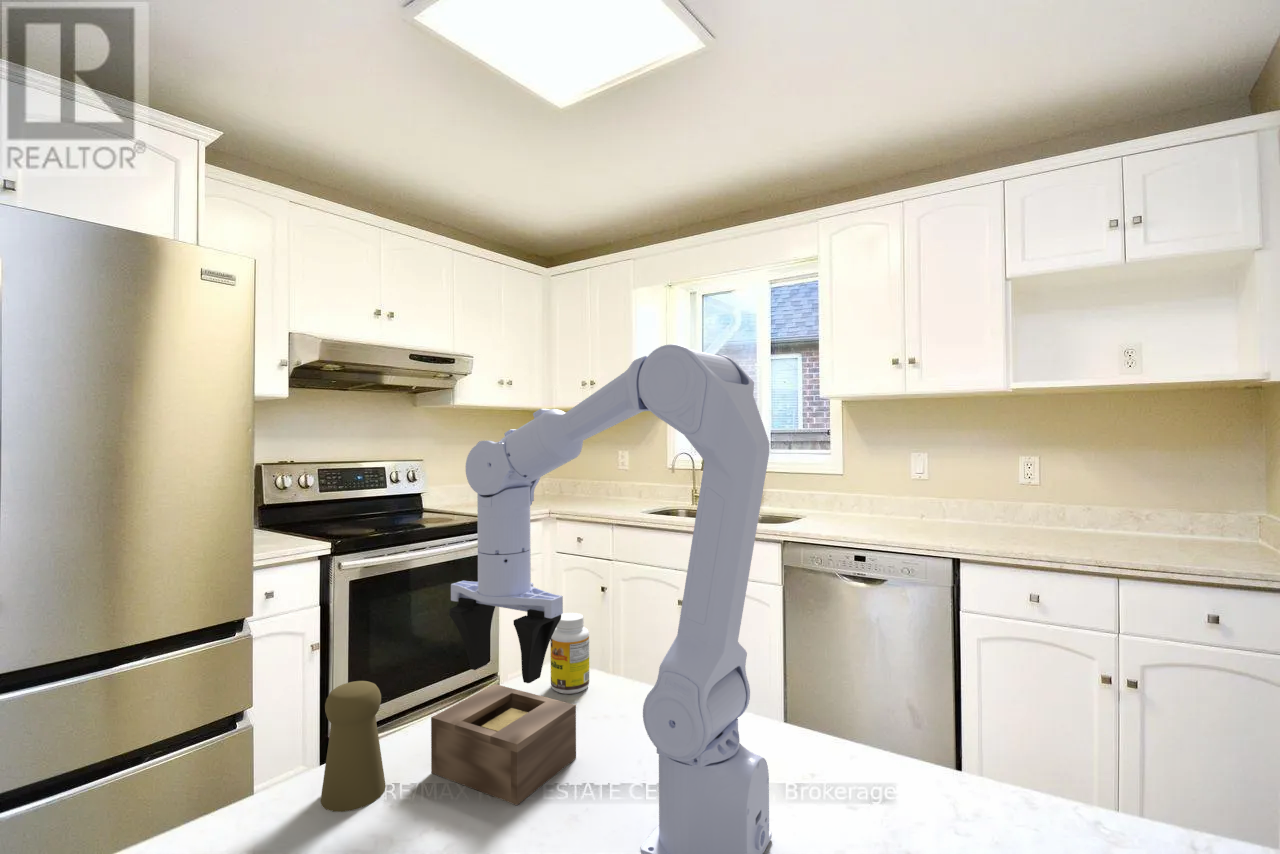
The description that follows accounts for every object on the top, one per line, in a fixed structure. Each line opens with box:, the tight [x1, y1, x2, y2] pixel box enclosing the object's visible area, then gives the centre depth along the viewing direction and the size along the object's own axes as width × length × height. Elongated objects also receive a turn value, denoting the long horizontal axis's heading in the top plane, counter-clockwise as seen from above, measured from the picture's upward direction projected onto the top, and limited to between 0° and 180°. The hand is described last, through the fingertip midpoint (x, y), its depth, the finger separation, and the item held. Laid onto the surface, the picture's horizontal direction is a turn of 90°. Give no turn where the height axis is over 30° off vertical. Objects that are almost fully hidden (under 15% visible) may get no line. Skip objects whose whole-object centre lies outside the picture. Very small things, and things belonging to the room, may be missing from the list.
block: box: [481, 708, 528, 732], centre depth 69 cm, size 3×5×5 cm, turn 152°
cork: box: [320, 680, 387, 813], centre depth 63 cm, size 6×6×11 cm
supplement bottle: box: [550, 612, 590, 695], centre depth 89 cm, size 6×6×10 cm
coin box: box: [430, 683, 577, 806], centre depth 68 cm, size 12×10×6 cm
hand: (504, 673), depth 68 cm, fingers open, 7 cm apart
